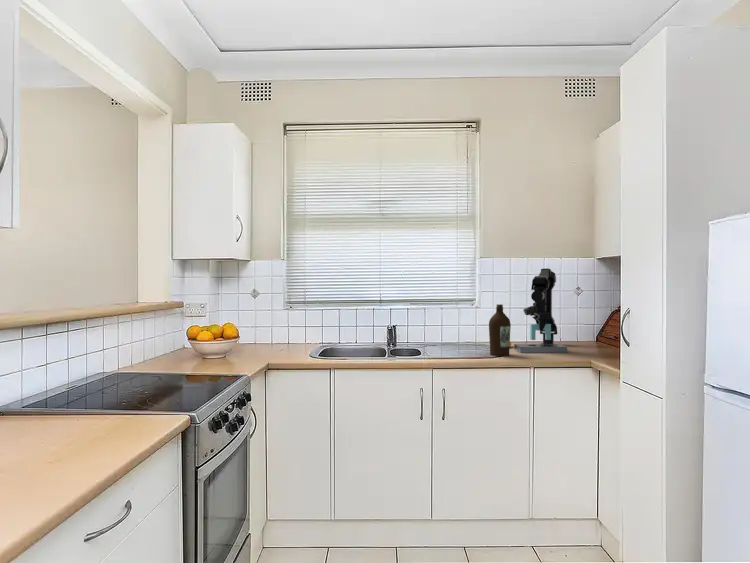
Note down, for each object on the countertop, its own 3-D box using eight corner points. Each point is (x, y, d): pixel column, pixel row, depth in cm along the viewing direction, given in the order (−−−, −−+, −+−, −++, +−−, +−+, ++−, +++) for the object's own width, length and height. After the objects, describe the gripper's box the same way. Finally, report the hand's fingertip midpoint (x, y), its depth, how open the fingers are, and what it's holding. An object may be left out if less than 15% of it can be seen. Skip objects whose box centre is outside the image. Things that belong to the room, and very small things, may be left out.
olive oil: (484, 354, 283) (484, 304, 283) (499, 352, 289) (499, 303, 288) (499, 356, 274) (499, 305, 274) (515, 355, 280) (515, 304, 280)
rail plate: (514, 349, 300) (514, 343, 300) (559, 349, 300) (559, 343, 300) (520, 352, 288) (520, 346, 288) (567, 352, 288) (567, 346, 288)
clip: (529, 339, 295) (529, 323, 295) (549, 339, 295) (549, 323, 295) (531, 340, 292) (531, 324, 292) (550, 339, 292) (550, 324, 292)
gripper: (520, 300, 303) (519, 329, 303) (530, 302, 284) (530, 333, 284) (540, 299, 303) (540, 329, 303) (552, 301, 284) (552, 332, 284)
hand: (540, 330), depth 294 cm, fingers closed on clip, 3 cm apart
